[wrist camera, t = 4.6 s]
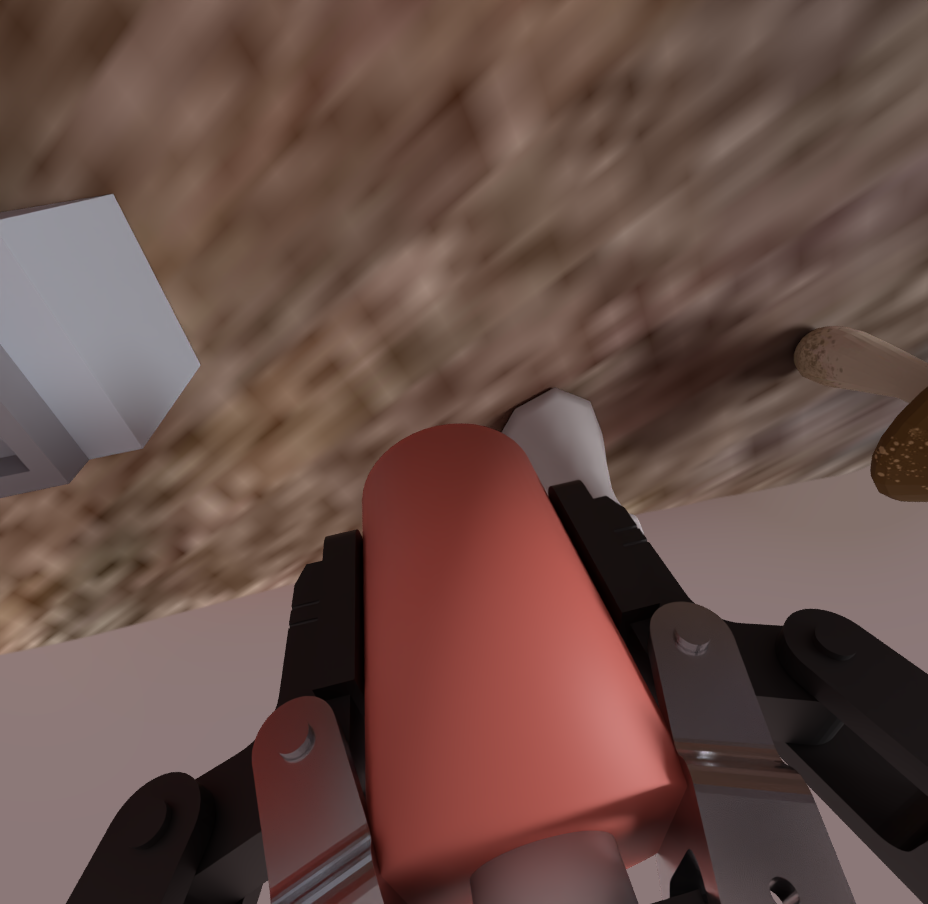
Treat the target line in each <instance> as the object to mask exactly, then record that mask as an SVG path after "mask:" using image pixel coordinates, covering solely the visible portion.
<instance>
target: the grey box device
mask: <svg viewBox="0 0 928 904" xmlns="http://www.w3.org/2000/svg"><path fill="white" fill-rule="evenodd" d="M199 367H200V363H199V361H198V359H197V357H196V355H195V353H194V351H193V349H192V347H191V345H190V344H189V342H188V340H187V338H186V336H185V334H184V332H183V330H182V328H181V326H180V324H179V322H178V320H177V318H176V316H175V314H174V312H173V310H172V308H171V306H170V304H169V302H168V300H167V299H166V297H165V295H164V293H163V291H162V289H161V287H160V285H159V283H158V281H157V279H156V277H155V275H154V273H153V271H152V269H151V267H150V265H149V263H148V261H147V259H146V257H145V256H144V254H143V252H142V250H141V248H140V246H139V244H138V242H137V240H136V238H135V236H134V234H133V232H132V230H131V228H130V226H129V224H128V222H127V220H126V218H125V216H124V214H123V212H122V211H121V209H120V207H119V205H118V203H117V201H116V199H115V197H114V195H113V194H110V195H104V196H98V197H92V198H85V199H79V200H73V201H67V202H61V203H55V204H49V205H43V206H36V207H30V208H24V209H18V210H12V211H6V212H0V498H3V497H7V496H12V495H17V494H22V493H26V492H31V491H36V490H41V489H45V488H50V487H55V486H60V485H64V484H69V483H70V482H71V481H72V480H73V478H74V477H75V476H76V475H77V474H78V472H79V471H80V470H81V469H82V468H83V466H84V465H85V464H86V463H87V462H88V460H89V459H94V458H99V457H104V456H109V455H113V454H118V453H123V452H128V451H133V450H137V449H142V448H143V447H144V446H145V445H146V443H147V442H148V440H149V439H150V437H151V436H152V434H153V433H154V432H155V430H156V429H157V427H158V426H159V424H160V423H161V421H162V420H163V419H164V417H165V416H166V414H167V413H168V411H169V410H170V408H171V407H172V406H173V404H174V403H175V401H176V400H177V398H178V397H179V395H180V394H181V393H182V391H183V390H184V388H185V387H186V385H187V384H188V382H189V381H190V380H191V378H192V377H193V375H194V374H195V372H196V371H197V369H198V368H199Z"/></svg>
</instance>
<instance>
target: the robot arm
mask: <svg viewBox="0 0 928 904" xmlns="http://www.w3.org/2000/svg"><path fill="white" fill-rule="evenodd" d="M548 497H549V499H550V501H551V502H552V504H553V506H554V508H555V510H556V512H557V514H558V516H559V518H560V520H561V522H562V524H563V525H564V527H565V529H566V531H567V533H568V535H569V537H570V539H571V541H572V543H573V545H574V547H575V548H576V550H577V552H578V554H579V556H580V558H581V560H582V562H583V564H584V566H585V568H586V570H587V571H588V573H589V575H590V577H591V579H592V581H593V583H594V585H595V587H596V589H597V591H598V592H599V594H600V596H601V598H602V600H603V602H604V604H605V606H606V608H607V610H608V612H609V614H610V615H611V617H612V619H613V621H614V623H615V625H616V627H617V629H618V631H619V633H620V635H621V637H622V638H623V640H624V642H625V644H626V646H627V648H628V650H629V652H630V654H631V656H632V658H633V660H634V661H635V663H636V665H637V667H638V669H639V671H640V673H641V675H642V677H643V679H644V681H645V682H646V684H647V686H648V688H649V690H650V692H651V694H652V696H653V698H654V700H655V702H656V704H657V705H658V707H659V709H660V711H661V713H662V715H663V718H664V720H665V723H666V725H667V728H668V730H669V733H670V736H671V738H672V741H673V744H674V747H675V750H676V753H677V756H678V759H679V762H680V765H681V768H682V771H683V774H684V777H685V780H686V783H687V788H686V791H685V793H684V795H683V797H682V800H681V802H680V804H679V806H678V809H677V811H676V813H675V815H674V817H673V820H672V822H671V824H670V826H669V829H668V831H667V833H666V835H665V838H664V840H663V842H662V844H661V847H660V849H659V851H658V853H657V854H655V855H656V862H657V870H658V876H659V882H660V888H661V895H662V901H659V902H655V903H652V904H777V903H776V902H775V901H774V899H773V898H772V895H771V893H770V891H772V892H773V893H775V894H776V895H777V896H778V897H779V898H780V900H781V901H782V903H783V904H856V903H855V900H854V897H853V895H852V893H851V890H850V887H849V885H848V882H847V880H846V877H845V875H844V873H843V870H842V867H841V865H840V863H839V860H838V858H837V855H836V852H835V850H834V847H833V845H832V843H831V840H830V838H829V836H828V832H827V830H826V827H825V825H824V823H823V820H822V817H821V815H820V812H819V810H818V808H817V805H816V803H815V800H814V798H813V796H812V794H811V792H810V790H809V788H808V786H809V787H810V788H811V789H812V790H813V791H814V792H815V793H816V794H817V795H818V796H819V797H820V798H821V799H822V800H823V801H824V802H825V803H826V804H827V805H828V806H829V807H830V808H831V809H832V810H833V811H834V812H835V813H836V814H837V815H838V816H839V818H840V819H842V821H843V822H844V823H845V824H846V825H847V826H848V827H849V828H850V829H851V830H852V831H853V832H854V833H855V834H856V835H857V836H858V837H859V838H860V839H861V840H862V841H863V842H864V843H865V844H866V845H867V846H868V847H869V848H870V849H871V850H872V851H873V852H874V853H875V854H876V855H877V856H878V857H879V859H881V861H882V862H883V863H884V864H886V866H887V867H888V868H889V869H890V870H891V871H892V872H893V873H894V874H895V875H896V876H897V877H898V878H899V879H900V880H901V881H902V882H903V883H904V884H905V885H906V886H907V887H908V888H909V889H910V890H911V891H912V892H913V893H914V894H915V895H916V896H917V897H918V898H919V899H920V901H921V902H922V903H923V904H928V674H927V673H925V672H924V671H922V670H921V669H920V668H918V667H917V666H915V665H914V664H913V663H911V662H910V661H908V660H907V659H905V658H904V657H903V656H901V655H900V654H898V653H897V652H895V651H894V650H893V649H891V648H890V647H888V646H887V645H886V644H884V643H883V642H881V641H880V640H879V639H877V638H876V637H874V636H873V635H871V634H870V633H869V632H867V631H866V630H864V629H863V628H861V627H860V626H859V625H857V624H856V623H854V622H852V621H851V620H849V619H847V618H845V617H843V616H840V615H838V614H836V613H833V612H829V611H825V610H820V609H803V610H799V611H796V612H794V613H792V614H791V615H790V616H789V617H788V618H787V620H786V621H785V623H784V625H783V626H777V625H761V624H745V623H735V622H730V621H726V620H723V619H721V618H720V617H719V616H718V615H716V614H715V613H714V612H712V611H711V610H709V609H707V608H705V607H703V606H700V605H697V604H695V603H694V602H692V600H690V598H689V597H688V596H687V595H686V593H685V592H684V591H683V589H682V588H681V586H680V585H679V583H678V582H677V581H676V579H675V578H674V577H673V575H672V574H671V572H670V571H669V570H668V568H667V567H666V565H665V564H664V562H663V561H662V560H661V558H660V557H659V555H658V554H657V553H656V551H655V550H654V549H653V547H652V546H651V544H650V543H649V542H647V539H646V537H645V536H644V534H643V533H642V531H641V530H640V529H639V528H637V524H636V523H635V522H634V520H633V519H632V517H631V516H630V515H629V513H628V512H627V510H626V509H625V508H624V507H623V506H621V505H620V504H618V503H617V502H615V501H614V500H612V499H611V498H609V497H608V496H602V497H598V498H594V499H593V497H592V496H591V494H590V493H589V491H588V489H587V488H586V486H585V485H584V483H583V482H582V481H581V480H574V481H570V482H566V483H561V484H557V485H552V486H549V488H548ZM289 625H290V629H289V630H288V636H287V643H286V650H285V657H284V665H283V671H282V679H281V687H280V693H279V699H278V704H277V706H276V709H275V711H274V712H273V713H272V714H271V715H270V716H269V717H268V718H267V720H266V721H265V722H264V724H263V725H262V727H261V728H260V730H259V732H258V734H257V736H256V739H255V740H254V741H253V742H252V743H251V744H250V745H249V746H248V747H247V748H245V749H244V750H242V751H241V752H239V753H238V754H236V755H235V756H233V757H231V758H230V759H228V760H227V761H225V762H223V763H222V764H220V765H218V766H217V767H215V768H213V769H212V770H210V771H208V772H207V773H205V774H204V775H202V776H200V777H199V778H197V779H194V778H193V777H191V776H190V775H188V774H186V773H181V772H171V773H168V774H164V775H161V776H159V777H157V778H155V779H153V780H151V781H150V782H148V783H146V784H145V785H144V786H142V787H141V788H140V789H139V790H138V791H136V792H135V793H134V794H133V795H132V796H131V797H130V798H129V799H128V800H127V801H126V803H125V804H124V805H123V806H122V808H121V809H120V810H119V812H118V813H117V814H116V816H115V818H114V819H113V821H112V822H111V824H110V826H109V828H108V829H107V831H106V833H105V835H104V837H103V838H102V840H101V842H100V844H99V846H98V847H97V849H96V851H95V853H94V854H93V856H92V858H91V860H90V862H89V864H88V866H87V867H86V869H85V870H84V872H83V874H82V876H81V878H80V879H79V881H78V883H77V885H76V887H75V888H74V890H73V892H72V894H71V896H70V897H69V899H68V901H67V903H66V904H257V901H258V898H259V895H260V892H261V889H262V885H263V883H265V882H266V881H269V888H270V898H271V904H407V903H406V902H405V901H404V900H403V898H402V897H401V896H400V895H399V894H398V893H397V892H396V891H395V890H394V889H393V888H392V887H391V886H390V885H389V884H388V883H387V882H386V881H385V879H384V878H383V877H382V876H381V872H380V867H379V863H378V858H377V854H376V850H375V845H374V841H373V836H372V831H371V826H370V821H369V816H368V810H367V804H366V790H365V699H364V608H363V539H362V536H361V534H360V532H359V530H353V531H348V532H344V533H339V534H335V535H331V536H326V537H325V540H324V549H323V561H319V562H315V563H311V564H306V566H305V568H304V570H303V571H302V573H301V575H300V576H299V578H298V580H297V582H296V583H295V586H294V593H293V600H292V611H291V614H290V621H289ZM780 757H781V758H782V759H783V760H784V761H785V762H786V763H787V764H788V765H789V766H788V765H786V764H785V763H784V762H783V761H782V760H781V758H780ZM807 785H808V786H807Z"/></svg>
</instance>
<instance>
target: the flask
mask: <svg viewBox="0 0 928 904" xmlns="http://www.w3.org/2000/svg"><path fill="white" fill-rule="evenodd" d="M501 433H503V434H505V435H507V436H508V437H509V438H511V439H512V440H514V441H515V442H516V443H517V444H518V445H519V446H520V447H521V448H522V449H523V451H524V452H525V453H526V455H527V457H528V458H529V460H530V462H531V464H532V466H533V468H534V470H535V472H536V474H537V476H538V478H539V480H540V481H541V483H542V485H543V487H544V489H545V491H546V493H547V495H548V488H549V486H552V485H557V484H561V483H566V482H570V481H574V480H581V481H582V482H583V483H584V485H585V486H586V488H587V489H588V491H589V493H590V494H591V496H592V497H593V499H594V498H598V497H602V496H608V497H609V498H611V499H612V500H614V501H615V502H617V503H618V504H620V503H619V502H618V500H617V499H616V497H615V495H614V492H613V490H612V488H611V483H610V478H609V472H608V467H607V462H606V455H605V448H604V440H603V435H602V431H601V428H600V426H599V423H598V420H597V418H596V415H595V413H594V410H593V408H592V405H591V402H590V401H588V400H586V399H583V398H581V397H578V396H576V395H573V394H571V393H568V392H565V391H563V390H560V389H558V388H553V389H551V390H549V391H547V392H546V393H544V394H542V395H540V396H538V397H536V398H535V399H533V400H531V401H529V402H527V403H525V404H523V405H522V406H520V407H518V408H516V409H515V410H514V412H513V413H512V415H511V417H510V419H509V420H508V422H507V424H506V425H505V427H504V429H503V431H502V432H501ZM620 505H621V504H620ZM629 515H630V516H631V517H632V519H633V520H634V522H635V523H636V524H637V528H639V529H640V530H641V531H642V533H643V530H642V528H641V525H640V522H639V520H638V518H637V517H636V516H635V515H633V514H629ZM643 534H644V533H643Z"/></svg>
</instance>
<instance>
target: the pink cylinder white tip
mask: <svg viewBox="0 0 928 904" xmlns="http://www.w3.org/2000/svg"><path fill="white" fill-rule="evenodd" d="M362 516H363V608H364V699H365V790H366V804H367V810H368V816H369V821H370V826H371V831H372V836H373V841H374V845H375V850H376V854H377V858H378V863H379V867H380V872H381V876H382V877H383V878H384V879H385V881H386V882H387V883H388V884H389V885H390V886H391V887H392V888H393V889H394V890H395V891H396V892H397V893H398V894H399V895H400V896H401V897H402V898H403V900H404V901H405V902H406V903H407V904H638V901H637V899H636V896H635V893H634V891H633V887H632V885H631V882H630V879H629V876H628V874H627V871H626V869H628V868H630V867H632V866H634V865H636V864H638V863H640V862H642V861H644V860H646V859H647V858H650V857H651V856H653V855H655V854H657V853H658V851H659V849H660V847H661V844H662V842H663V840H664V838H665V835H666V833H667V831H668V829H669V826H670V824H671V822H672V820H673V817H674V815H675V813H676V811H677V809H678V806H679V804H680V802H681V800H682V797H683V795H684V793H685V791H686V788H687V783H686V780H685V777H684V774H683V771H682V768H681V765H680V762H679V759H678V756H677V753H676V750H675V747H674V744H673V741H672V738H671V736H670V733H669V730H668V728H667V725H666V723H665V720H664V718H663V715H662V713H661V711H660V709H659V707H658V705H657V704H656V702H655V700H654V698H653V696H652V694H651V692H650V690H649V688H648V686H647V684H646V682H645V681H644V679H643V677H642V675H641V673H640V671H639V669H638V667H637V665H636V663H635V661H634V660H633V658H632V656H631V654H630V652H629V650H628V648H627V646H626V644H625V642H624V640H623V638H622V637H621V635H620V633H619V631H618V629H617V627H616V625H615V623H614V621H613V619H612V617H611V615H610V614H609V612H608V610H607V608H606V606H605V604H604V602H603V600H602V598H601V596H600V594H599V592H598V591H597V589H596V587H595V585H594V583H593V581H592V579H591V577H590V575H589V573H588V571H587V570H586V568H585V566H584V564H583V562H582V560H581V558H580V556H579V554H578V552H577V550H576V548H575V547H574V545H573V543H572V541H571V539H570V537H569V535H568V533H567V531H566V529H565V527H564V525H563V524H562V522H561V520H560V518H559V516H558V514H557V512H556V510H555V508H554V506H553V504H552V502H551V501H550V499H549V497H548V495H547V493H546V491H545V489H544V487H543V485H542V483H541V481H540V480H539V478H538V476H537V474H536V472H535V470H534V468H533V466H532V464H531V462H530V460H529V458H528V457H527V455H526V453H525V452H524V451H523V449H522V448H521V447H520V446H519V445H518V444H517V443H516V442H515V441H514V440H512V439H511V438H509V437H508V436H507V435H505V434H503V433H501V432H499V431H497V430H494V429H491V428H488V427H485V426H480V425H475V424H462V423H461V424H446V425H440V426H435V427H431V428H428V429H424V430H422V431H419V432H416V433H414V434H412V435H410V436H408V437H406V438H404V439H402V440H401V441H399V442H398V443H396V444H395V445H394V446H392V447H391V448H390V449H389V450H388V451H386V452H385V453H384V454H383V455H382V456H381V457H380V459H379V460H378V461H377V462H376V463H375V465H374V466H373V468H372V470H371V471H370V473H369V475H368V477H367V480H366V482H365V486H364V490H363V498H362Z"/></svg>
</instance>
